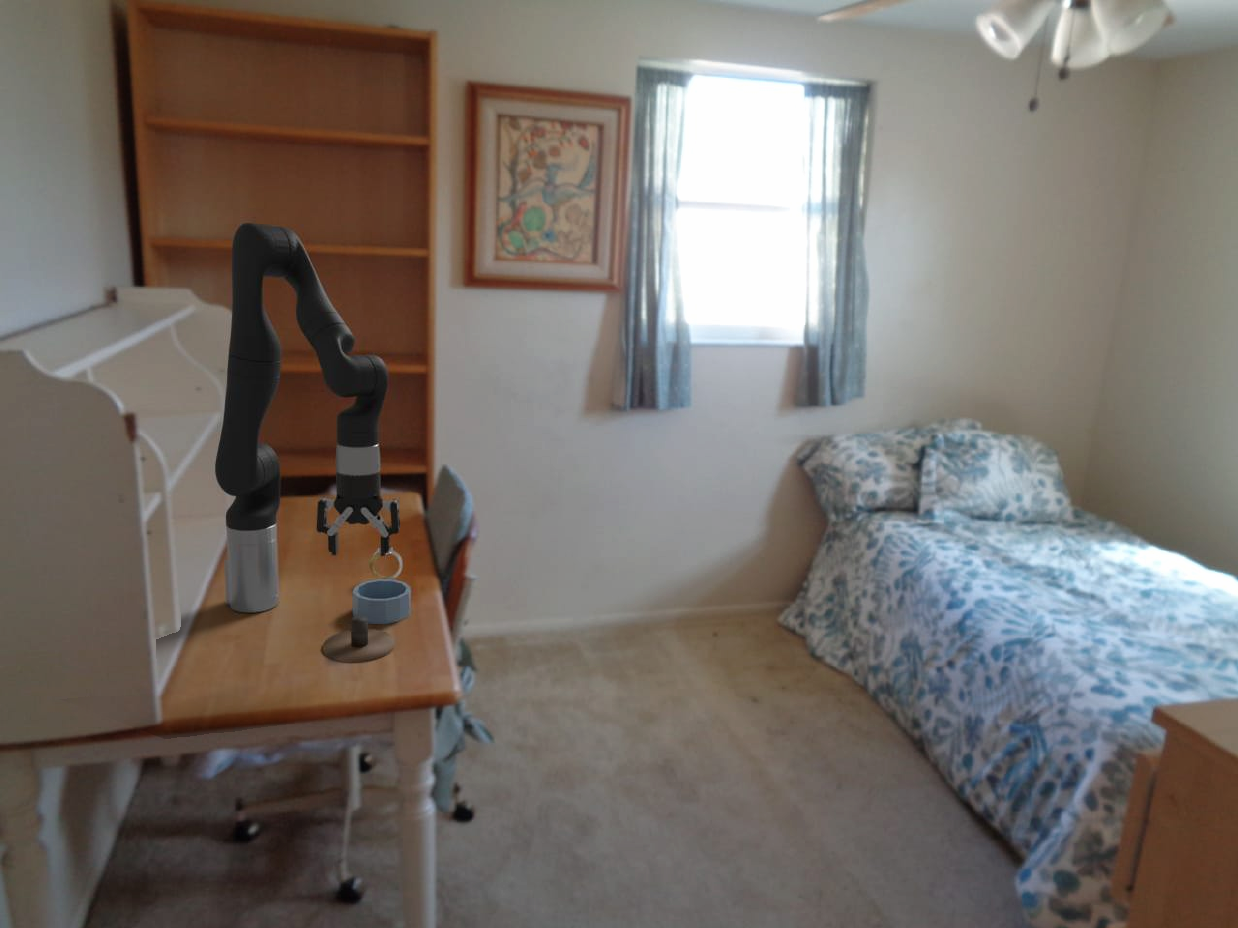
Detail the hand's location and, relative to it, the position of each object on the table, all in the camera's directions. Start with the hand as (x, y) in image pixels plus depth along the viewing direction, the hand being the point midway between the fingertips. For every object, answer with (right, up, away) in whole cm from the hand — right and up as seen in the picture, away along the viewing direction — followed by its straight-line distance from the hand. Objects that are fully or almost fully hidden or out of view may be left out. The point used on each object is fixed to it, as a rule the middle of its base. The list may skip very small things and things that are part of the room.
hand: (359, 554), depth 156 cm
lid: (-1, -18, +4) cm, 18 cm away
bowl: (-1, -14, +19) cm, 23 cm away
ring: (-5, -10, +35) cm, 37 cm away
